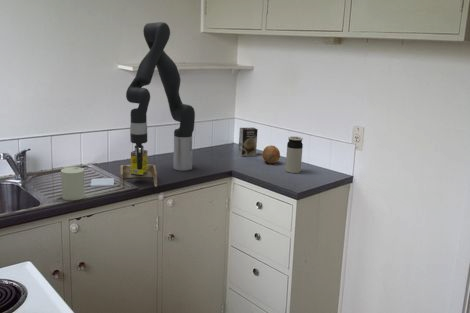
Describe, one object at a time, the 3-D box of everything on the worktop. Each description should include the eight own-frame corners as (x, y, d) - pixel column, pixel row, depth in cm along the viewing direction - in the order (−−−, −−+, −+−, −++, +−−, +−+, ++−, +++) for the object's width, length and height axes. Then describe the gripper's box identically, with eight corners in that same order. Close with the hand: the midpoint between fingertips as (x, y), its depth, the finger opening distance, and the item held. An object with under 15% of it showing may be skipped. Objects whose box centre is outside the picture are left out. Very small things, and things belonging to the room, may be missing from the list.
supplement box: (143, 176, 220) (142, 153, 217) (130, 175, 221) (130, 152, 218) (148, 172, 225) (147, 150, 222) (135, 171, 226) (135, 149, 223)
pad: (114, 179, 226) (114, 178, 226) (113, 186, 217) (113, 184, 216) (91, 180, 224) (91, 178, 224) (90, 186, 214) (90, 185, 214)
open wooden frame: (154, 176, 234) (154, 164, 232) (157, 186, 219) (157, 173, 217) (120, 177, 230) (120, 165, 228) (120, 187, 215) (120, 174, 214)
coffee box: (241, 157, 279) (243, 129, 275) (237, 154, 285) (239, 127, 281) (256, 156, 282) (258, 129, 278) (252, 153, 288) (253, 127, 284)
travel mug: (294, 174, 249) (297, 140, 244) (282, 171, 254) (284, 137, 249) (303, 171, 254) (306, 138, 250) (291, 168, 259) (293, 135, 255)
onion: (278, 161, 274) (279, 143, 271) (280, 165, 264) (281, 148, 261) (261, 160, 273) (262, 143, 271) (262, 165, 263) (263, 147, 261)
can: (89, 194, 204) (88, 167, 201) (77, 201, 195) (76, 172, 192) (69, 192, 206) (68, 164, 203) (57, 198, 197) (55, 170, 194)
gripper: (148, 135, 212) (148, 171, 216) (146, 128, 225) (146, 162, 230) (130, 135, 210) (131, 171, 214) (129, 128, 224) (130, 162, 228)
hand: (139, 166), depth 222 cm, fingers closed on supplement box, 7 cm apart
